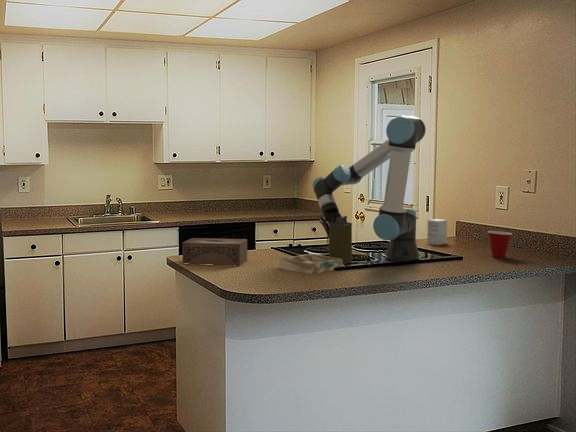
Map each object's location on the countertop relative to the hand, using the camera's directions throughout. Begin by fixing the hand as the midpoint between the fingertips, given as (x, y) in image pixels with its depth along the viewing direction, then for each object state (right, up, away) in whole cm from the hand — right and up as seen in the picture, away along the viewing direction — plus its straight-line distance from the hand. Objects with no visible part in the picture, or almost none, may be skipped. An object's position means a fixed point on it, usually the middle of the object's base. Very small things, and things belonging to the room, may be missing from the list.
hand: (343, 247), depth 306 cm
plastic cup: (+74, -5, +19) cm, 76 cm away
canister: (-1, -7, +4) cm, 8 cm away
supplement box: (+53, -1, +60) cm, 80 cm away
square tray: (-15, -8, -8) cm, 18 cm away
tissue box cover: (-57, -7, +6) cm, 58 cm away
